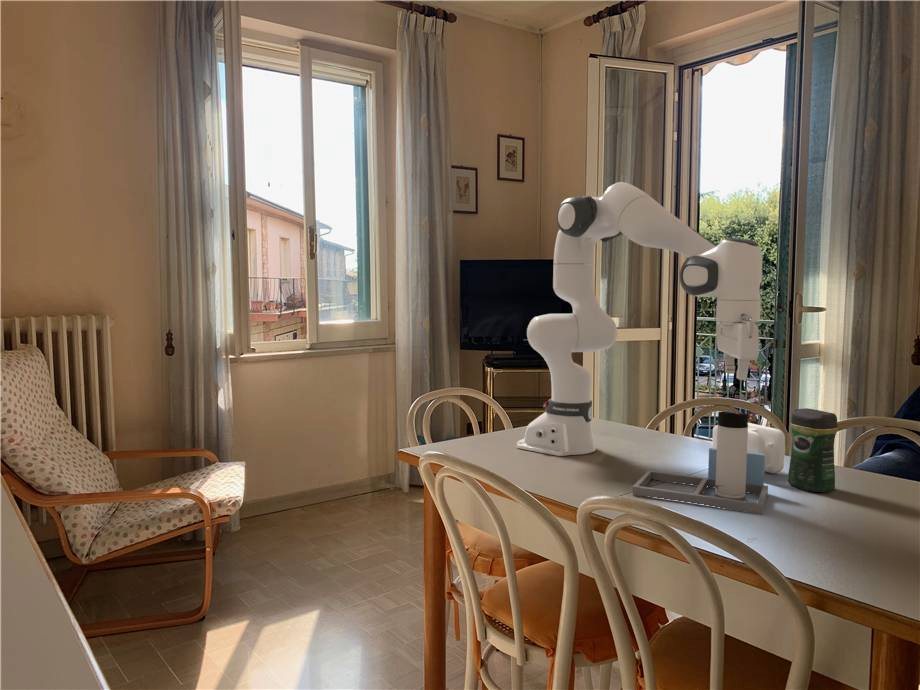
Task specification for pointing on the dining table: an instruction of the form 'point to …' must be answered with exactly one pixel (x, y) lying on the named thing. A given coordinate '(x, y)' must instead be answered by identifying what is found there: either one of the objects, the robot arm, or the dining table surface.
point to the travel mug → (731, 455)
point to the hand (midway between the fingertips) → (735, 376)
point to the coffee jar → (813, 450)
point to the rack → (710, 485)
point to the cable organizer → (763, 445)
